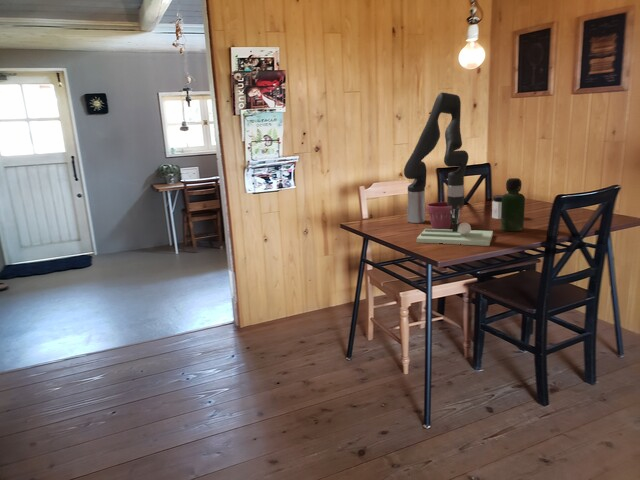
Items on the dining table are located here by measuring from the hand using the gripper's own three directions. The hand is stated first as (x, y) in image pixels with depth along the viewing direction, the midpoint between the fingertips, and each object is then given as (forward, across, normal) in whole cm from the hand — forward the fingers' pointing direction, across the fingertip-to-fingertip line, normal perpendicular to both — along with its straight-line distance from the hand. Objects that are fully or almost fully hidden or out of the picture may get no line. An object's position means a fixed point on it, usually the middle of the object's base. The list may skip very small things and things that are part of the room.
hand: (455, 231), depth 221 cm
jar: (+4, -51, +17) cm, 54 cm away
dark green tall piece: (+4, -23, +24) cm, 34 cm away
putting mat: (+4, 0, 0) cm, 4 cm away
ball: (-1, 0, +4) cm, 4 cm away
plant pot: (+4, -20, -10) cm, 23 cm away
